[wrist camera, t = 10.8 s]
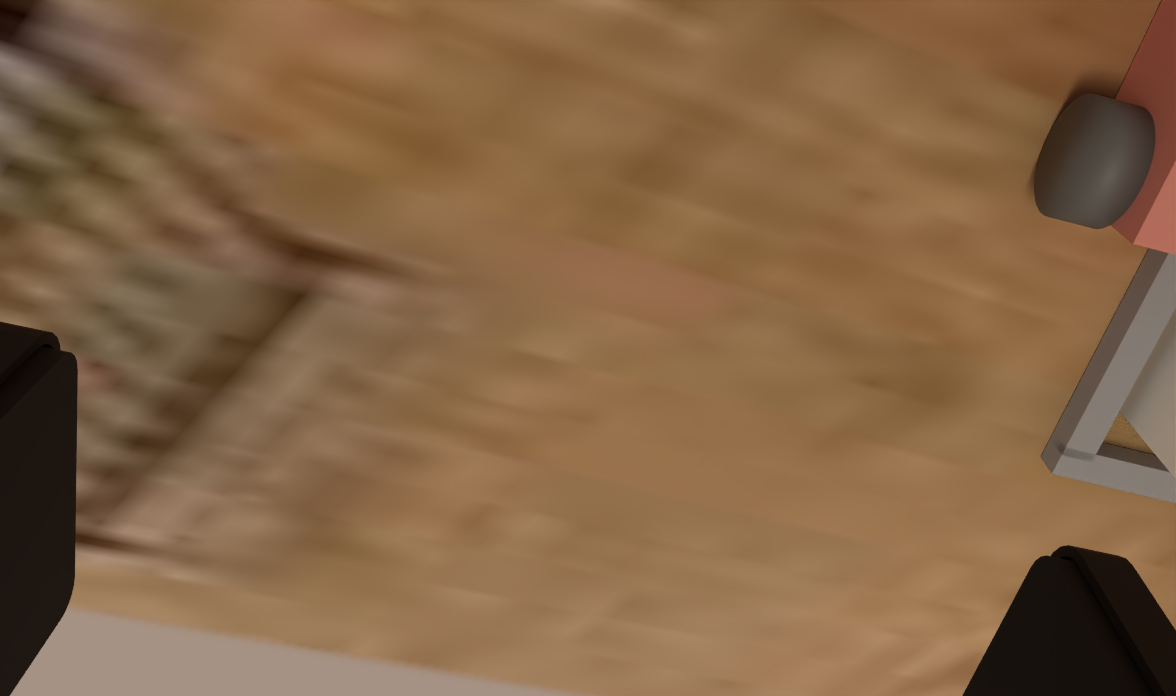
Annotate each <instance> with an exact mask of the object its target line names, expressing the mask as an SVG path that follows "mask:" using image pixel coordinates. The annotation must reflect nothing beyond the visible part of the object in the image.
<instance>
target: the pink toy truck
mask: <svg viewBox="0 0 1176 696" xmlns="http://www.w3.org/2000/svg"><path fill="white" fill-rule="evenodd" d="M1034 193H1035V201H1036V204H1037V207H1038V209H1039V211H1040V212H1041V213H1042V214H1043V215H1045V216H1048V217H1051V218H1055V219H1059V220H1063V221H1067V222H1071V223H1075V224H1078V225H1082V226H1086V227H1090V228H1094V229H1101V228H1105V227H1107V226H1109V225H1111V226H1112V227H1114V228H1115V229H1116V230H1117V231H1118V232H1119V233H1121V234H1122V235H1123V236H1124V237H1125V238H1127V239H1128V240H1129V241H1130V242H1131V243H1132V244H1135V245H1139V246H1143V247H1147V248H1149V249H1148V251H1147V253H1146V255H1145V257H1144V259H1143V261H1142V263H1141V265H1140V267H1139V269H1138V271H1137V272H1136V274H1135V276H1134V278H1133V280H1132V282H1131V284H1130V286H1129V288H1128V290H1127V292H1126V294H1125V296H1124V297H1123V299H1122V301H1121V303H1120V305H1119V307H1118V309H1117V311H1116V313H1115V315H1114V317H1113V319H1112V321H1111V323H1110V324H1109V326H1108V328H1107V330H1106V332H1105V334H1104V336H1103V338H1102V340H1101V342H1100V344H1099V346H1098V348H1097V349H1096V351H1095V353H1094V355H1093V357H1092V359H1091V361H1090V363H1089V365H1088V367H1087V369H1086V371H1085V373H1084V374H1083V376H1082V378H1081V380H1080V382H1079V384H1078V386H1077V388H1076V390H1075V392H1074V394H1073V396H1072V398H1071V399H1070V401H1069V403H1068V405H1067V407H1066V409H1065V411H1064V413H1063V415H1062V417H1061V419H1060V421H1059V423H1058V424H1057V426H1056V428H1055V430H1054V432H1053V434H1052V436H1051V438H1050V440H1049V442H1048V444H1047V446H1046V448H1045V449H1044V451H1043V453H1042V455H1041V458H1042V460H1043V461H1044V463H1045V464H1046V466H1047V467H1048V469H1049V470H1050V472H1051V473H1052V474H1055V475H1059V476H1063V477H1067V478H1072V479H1076V480H1080V481H1084V482H1089V483H1093V484H1097V485H1101V486H1105V487H1110V488H1114V489H1118V490H1122V491H1126V492H1131V493H1135V494H1139V495H1143V496H1148V497H1152V498H1156V499H1160V500H1164V501H1169V502H1173V503H1176V479H1175V478H1174V476H1173V475H1172V474H1171V473H1170V472H1169V470H1168V469H1167V468H1166V467H1165V466H1164V464H1163V463H1162V462H1161V461H1160V460H1159V458H1158V457H1157V456H1156V455H1152V454H1148V453H1144V452H1140V451H1136V450H1131V449H1127V448H1123V447H1119V446H1115V445H1111V444H1107V443H1102V442H1103V441H1104V439H1105V437H1106V435H1107V433H1108V431H1109V430H1110V428H1111V426H1112V424H1113V422H1114V420H1115V419H1116V417H1117V415H1118V413H1119V411H1120V409H1121V408H1122V406H1123V404H1124V402H1125V400H1126V398H1127V397H1128V395H1129V393H1130V391H1131V389H1132V387H1133V386H1134V384H1135V382H1136V380H1137V378H1138V376H1139V375H1140V373H1141V371H1142V369H1143V367H1144V365H1145V364H1146V362H1147V360H1148V358H1149V356H1150V354H1151V353H1152V351H1153V349H1154V347H1155V345H1156V344H1157V342H1158V340H1159V338H1160V336H1161V334H1162V333H1163V331H1164V329H1165V327H1166V325H1167V323H1168V322H1169V320H1170V318H1171V316H1172V314H1173V312H1174V311H1175V309H1176V0H1162V1H1161V3H1160V5H1159V7H1158V9H1157V12H1156V14H1155V16H1154V18H1153V20H1152V22H1151V24H1150V26H1149V28H1148V31H1147V33H1146V35H1145V37H1144V39H1143V41H1142V43H1141V45H1140V47H1139V50H1138V52H1137V54H1136V56H1135V58H1134V60H1133V62H1132V64H1131V66H1130V69H1129V71H1128V73H1127V75H1126V77H1125V79H1124V81H1123V83H1122V85H1121V88H1120V90H1119V92H1118V94H1117V96H1116V98H1115V99H1112V98H1109V97H1105V96H1101V95H1097V94H1094V93H1087V94H1083V95H1081V96H1079V97H1077V98H1076V99H1075V100H1073V101H1072V102H1071V103H1070V104H1069V105H1068V106H1067V107H1066V108H1065V109H1064V111H1063V112H1062V113H1061V114H1060V116H1059V117H1058V119H1057V120H1056V122H1055V123H1054V125H1053V127H1052V129H1051V130H1050V132H1049V134H1048V136H1047V138H1046V141H1045V143H1044V146H1043V148H1042V151H1041V154H1040V157H1039V161H1038V165H1037V169H1036V175H1035V183H1034Z"/></svg>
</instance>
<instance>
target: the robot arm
mask: <svg viewBox="0 0 1176 696" xmlns="http://www.w3.org/2000/svg"><path fill="white" fill-rule="evenodd" d="M77 376H78V369H77V360H76V358H75V355H73V354H72V353H70V352H66V351H61V350H60V344H59V341H58V338H57V336H55V335H54V334H53V333H52V332H47V331H42V330H37V329H32V328H28V327H23V326H18V325H13V324H9V323H4V322H0V696H10V694H11V693H12V691H13V690H14V688H15V687H16V685H17V684H18V682H19V681H20V679H21V678H22V676H23V675H24V673H25V672H26V670H27V669H28V668H29V666H30V665H31V663H32V662H33V660H34V659H35V657H36V655H37V654H38V653H39V651H40V649H41V648H42V647H43V645H44V644H45V642H46V641H47V639H48V638H49V636H50V635H51V633H52V632H53V630H54V629H55V627H56V626H57V624H58V622H59V621H60V620H61V618H62V616H63V615H64V613H65V611H66V608H67V606H68V604H69V601H70V598H71V595H72V591H73V586H74V579H75V525H76V450H77ZM963 696H1176V630H1175V629H1174V627H1173V626H1172V624H1171V623H1170V621H1169V620H1168V618H1167V617H1166V615H1165V614H1164V612H1163V611H1162V609H1161V608H1160V606H1159V605H1158V603H1157V601H1156V600H1155V598H1154V597H1153V595H1152V594H1151V592H1150V591H1149V589H1148V588H1147V586H1146V585H1145V583H1144V582H1143V580H1142V579H1141V577H1140V576H1139V574H1138V573H1137V571H1136V570H1135V568H1134V567H1133V565H1132V564H1131V563H1130V562H1129V561H1128V560H1127V559H1126V558H1123V557H1120V556H1117V555H1112V554H1107V553H1103V552H1098V551H1093V550H1088V549H1084V548H1079V547H1074V546H1069V545H1067V546H1062V547H1060V548H1058V549H1057V550H1056V551H1054V552H1053V554H1052V555H1051V556H1042V557H1040V558H1038V559H1037V560H1036V561H1035V562H1034V564H1033V565H1032V566H1031V568H1030V570H1029V572H1028V574H1027V576H1026V578H1025V579H1024V581H1023V583H1022V585H1021V587H1020V589H1019V591H1018V592H1017V594H1016V596H1015V598H1014V600H1013V602H1012V604H1011V606H1010V607H1009V609H1008V611H1007V613H1006V615H1005V617H1004V619H1003V621H1002V622H1001V624H1000V626H999V628H998V630H997V632H996V634H995V636H994V637H993V639H992V641H991V643H990V645H989V647H988V649H987V651H986V652H985V654H984V656H983V658H982V660H981V662H980V664H979V666H978V667H977V669H976V671H975V673H974V675H973V677H972V679H971V681H970V682H969V684H968V686H967V688H966V690H965V692H964V694H963Z"/></svg>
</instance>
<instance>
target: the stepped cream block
mask: <svg viewBox="0 0 1176 696" xmlns="http://www.w3.org/2000/svg"><path fill="white" fill-rule="evenodd" d="M1120 413H1121V414H1122V415H1123V416H1124V417H1125V419H1126V420H1127V421H1128V422H1129V423H1130V425H1131V426H1132V427H1133V428H1134V429H1135V431H1136V432H1137V433H1138V434H1139V435H1140V437H1141V438H1142V439H1143V440H1144V441H1145V443H1146V444H1147V445H1148V446H1149V448H1150V449H1151V450H1152V451H1153V452H1154V454H1155V455H1156V456H1157V457H1158V458H1159V460H1160V461H1161V462H1162V463H1163V464H1164V466H1165V467H1166V468H1167V469H1168V470H1169V472H1170V473H1171V474H1172V475H1173V476H1174V478H1175V479H1176V309H1175V311H1174V312H1173V314H1172V316H1171V318H1170V320H1169V322H1168V323H1167V325H1166V327H1165V329H1164V331H1163V333H1162V334H1161V336H1160V338H1159V340H1158V342H1157V344H1156V345H1155V347H1154V349H1153V351H1152V353H1151V354H1150V356H1149V358H1148V360H1147V362H1146V364H1145V365H1144V367H1143V369H1142V371H1141V373H1140V375H1139V376H1138V378H1137V380H1136V382H1135V384H1134V386H1133V387H1132V389H1131V391H1130V393H1129V395H1128V397H1127V398H1126V400H1125V402H1124V404H1123V406H1122V408H1121V409H1120Z"/></svg>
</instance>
